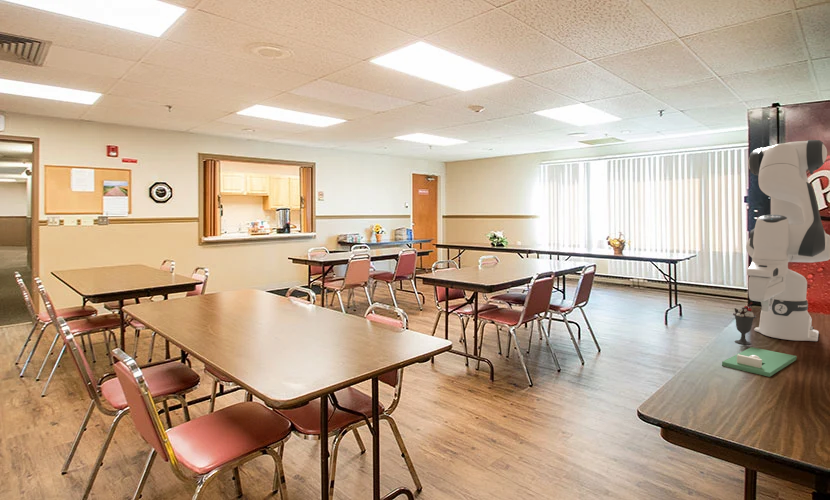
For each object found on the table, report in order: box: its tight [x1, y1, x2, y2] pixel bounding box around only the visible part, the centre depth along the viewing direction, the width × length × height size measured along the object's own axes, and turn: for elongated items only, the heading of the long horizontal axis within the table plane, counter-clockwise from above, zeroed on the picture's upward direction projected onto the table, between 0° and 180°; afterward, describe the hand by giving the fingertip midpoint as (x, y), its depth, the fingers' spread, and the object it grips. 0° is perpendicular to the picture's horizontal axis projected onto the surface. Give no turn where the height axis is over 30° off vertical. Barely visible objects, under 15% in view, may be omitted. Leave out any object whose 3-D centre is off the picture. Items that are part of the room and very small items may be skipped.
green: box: [721, 346, 797, 378], centre depth 139 cm, size 24×12×4 cm, turn 125°
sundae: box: [732, 301, 757, 346], centre depth 159 cm, size 7×7×15 cm
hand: (766, 310), depth 140 cm, fingers closed
